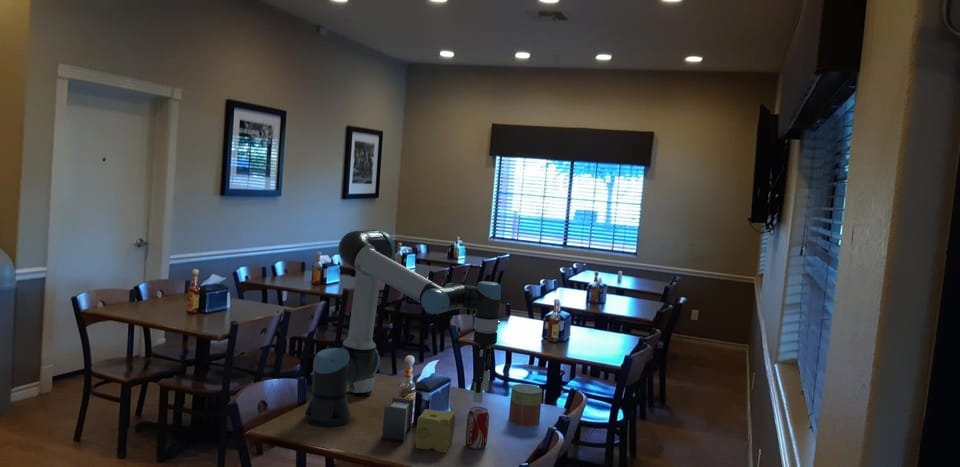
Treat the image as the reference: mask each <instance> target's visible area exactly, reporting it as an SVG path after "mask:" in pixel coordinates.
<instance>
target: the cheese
mask: <svg viewBox="0 0 960 467" xmlns="http://www.w3.org/2000/svg"><path fill="white" fill-rule="evenodd" d="M455 424H456V413H455V412H454V411H442V410H435V409H429V408H425V409H424V410H423V411H422V413H421V415H419V416H418V417H417V421H416V429H415V430H416V431H415V432H416V433H415V449H418V450H419V449H421V450H434V451H435V452H439V453H445V454H446V453H447V451H448V449H449V447H450V445H451V444H452V442H453V439H454V438H453V437H454V433H455V427H456V425H455Z"/></svg>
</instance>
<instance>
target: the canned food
mask: <svg viewBox="0 0 960 467" xmlns="http://www.w3.org/2000/svg"><path fill="white" fill-rule="evenodd" d="M510 389H511V391H510V401H509V402H510V403H509V415H508V422H509V423H511V424H513V425H516V426H518V427H524V428H526V427H527V428H532V427H537V426H539V424H541V422H540V420H541V410H542V409H541V407H542V400H543V399H542V397H543V391H544V390H543V389H542V388H541V387H539V386H537V385H533V384H525V383H519V384H518V383H517V384H514V385H511V387H510Z"/></svg>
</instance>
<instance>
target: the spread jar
mask: <svg viewBox="0 0 960 467" xmlns="http://www.w3.org/2000/svg"><path fill="white" fill-rule="evenodd" d="M374 385H375V374H374V375H373V376H371V377H369V378H368V379H366V380H363V381H358V382H355V383H352V384H349V385H347V390H348V391H349V393H350V394H351V395H352V396H357V397H363V396H364V397H365V396H368V395H369V394H371V393H372V392H373V390H374V387H375V386H374Z"/></svg>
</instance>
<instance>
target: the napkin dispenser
mask: <svg viewBox="0 0 960 467" xmlns="http://www.w3.org/2000/svg"><path fill="white" fill-rule="evenodd" d="M391 398H392V401H391V405H384V407H383V408H384V409H383V410H384V411H383V424H382V436H381V441H387V442H393V443H394V442H395V443H401V444H404V443H405V441H406V440H407V438H408V437H409V436H410V434H411V433H412V425H413V424H412V423H413V411H414V399H410V398H403V397H395V396H393V397H391Z"/></svg>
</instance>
